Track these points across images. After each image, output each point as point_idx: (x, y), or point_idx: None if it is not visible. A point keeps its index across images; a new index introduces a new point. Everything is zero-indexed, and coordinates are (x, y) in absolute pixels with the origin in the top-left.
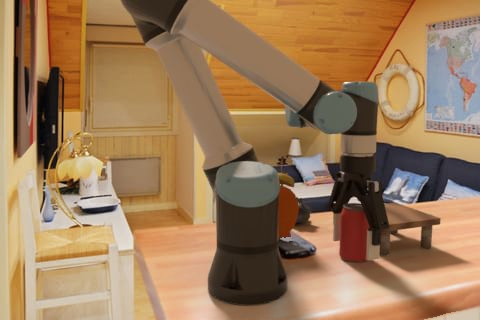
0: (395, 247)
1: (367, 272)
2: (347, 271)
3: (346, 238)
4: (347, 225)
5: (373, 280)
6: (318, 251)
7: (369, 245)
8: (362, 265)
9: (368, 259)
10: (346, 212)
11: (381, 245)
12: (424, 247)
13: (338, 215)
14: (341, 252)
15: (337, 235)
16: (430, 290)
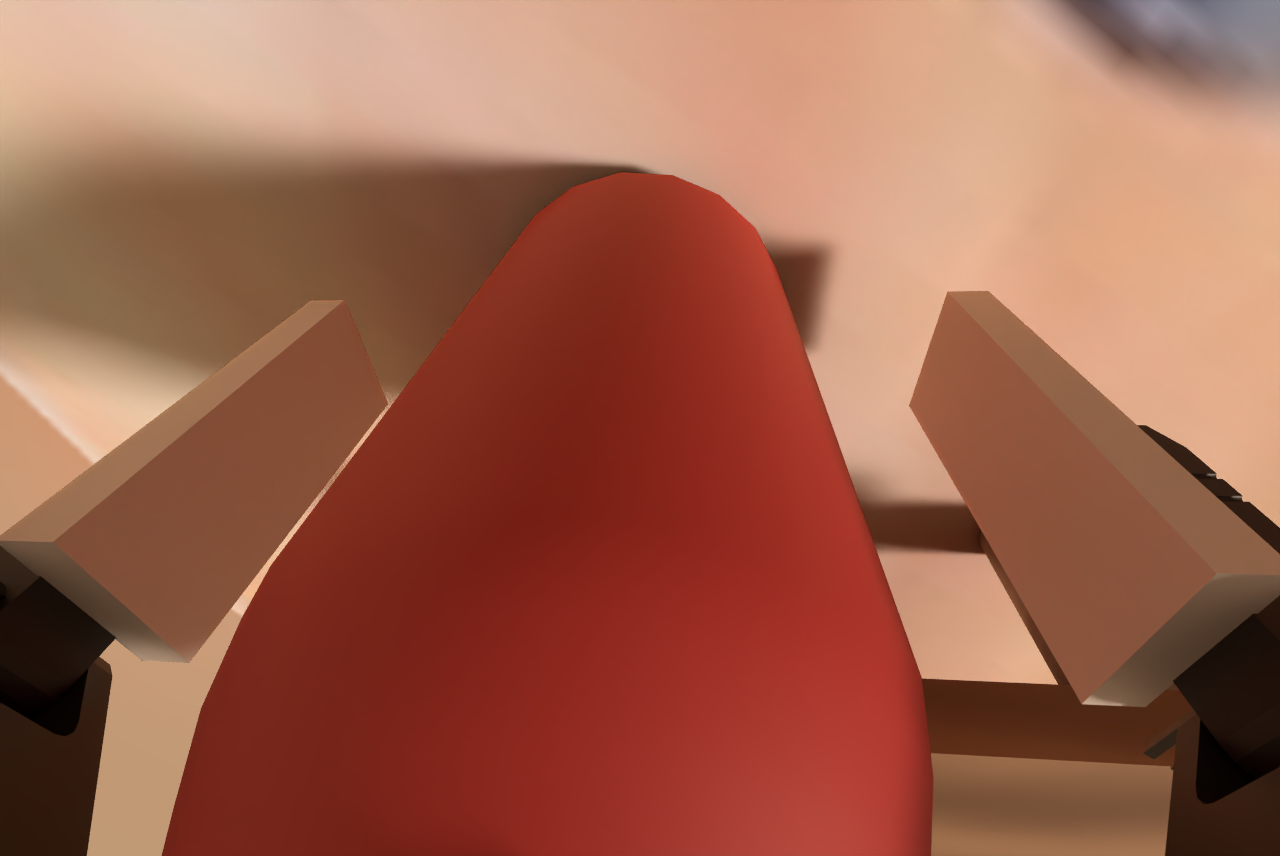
0: None
1: (308, 229)
2: (320, 37)
3: (513, 274)
4: (423, 407)
5: (124, 174)
6: (1005, 27)
7: (209, 391)
8: (468, 280)
9: (307, 305)
10: (359, 733)
11: None
12: None
13: (1150, 595)
14: (641, 187)
15: (964, 357)
16: (54, 422)
